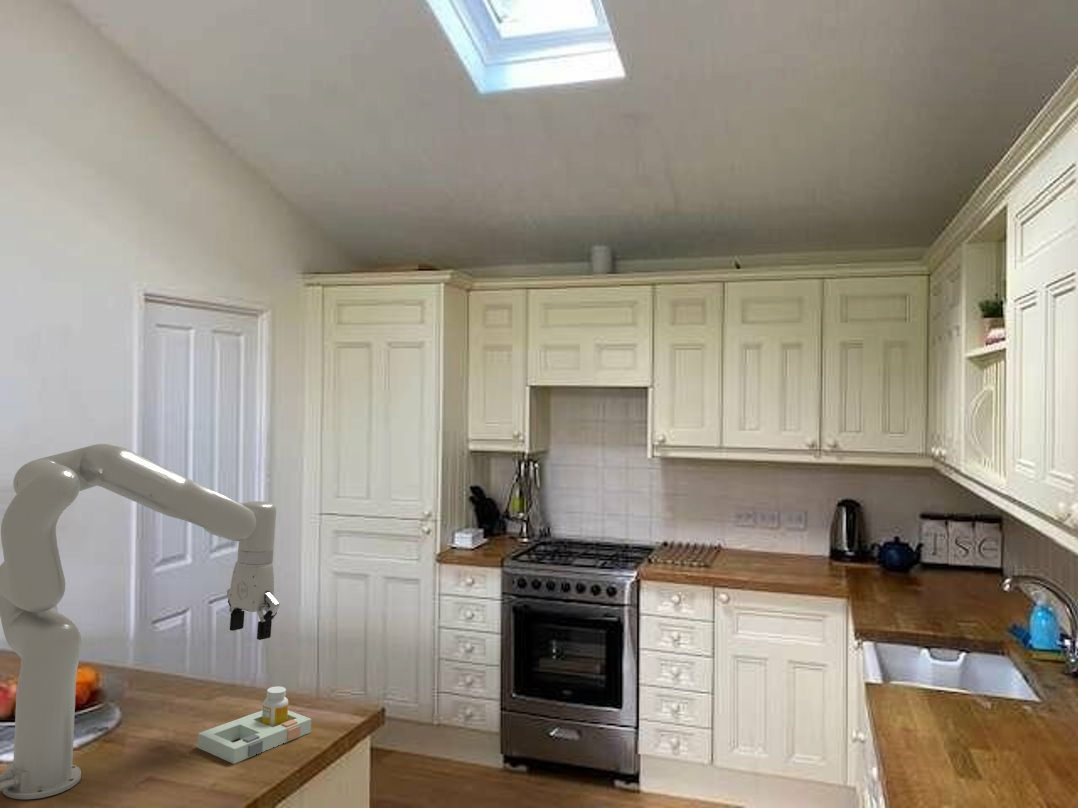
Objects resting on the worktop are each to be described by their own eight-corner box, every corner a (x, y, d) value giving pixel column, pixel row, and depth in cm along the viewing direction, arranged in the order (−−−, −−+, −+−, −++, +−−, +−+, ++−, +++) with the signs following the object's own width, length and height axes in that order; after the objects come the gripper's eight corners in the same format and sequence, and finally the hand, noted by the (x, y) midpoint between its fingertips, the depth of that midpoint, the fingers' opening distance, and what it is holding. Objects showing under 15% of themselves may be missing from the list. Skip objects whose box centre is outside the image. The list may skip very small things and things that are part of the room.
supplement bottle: (258, 737, 177) (260, 693, 177) (264, 727, 182) (266, 684, 182) (284, 737, 178) (286, 694, 177) (289, 727, 183) (291, 685, 183)
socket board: (235, 764, 164) (235, 747, 164) (197, 747, 171) (198, 731, 171) (311, 732, 181) (312, 717, 181) (274, 718, 188) (275, 703, 188)
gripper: (217, 553, 184) (211, 629, 184) (265, 565, 174) (260, 645, 174) (245, 549, 190) (240, 623, 190) (294, 561, 180) (288, 639, 180)
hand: (249, 634), depth 182 cm, fingers open, 9 cm apart
